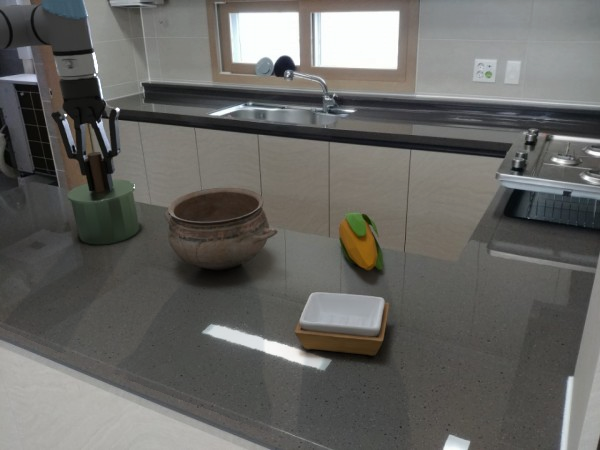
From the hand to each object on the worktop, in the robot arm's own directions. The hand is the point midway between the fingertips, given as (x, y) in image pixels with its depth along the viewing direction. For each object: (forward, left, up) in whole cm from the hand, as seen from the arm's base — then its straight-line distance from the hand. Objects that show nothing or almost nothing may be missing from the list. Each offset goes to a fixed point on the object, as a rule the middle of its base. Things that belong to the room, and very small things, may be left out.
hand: (101, 188), depth 115 cm
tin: (0, 0, -10) cm, 10 cm away
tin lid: (0, 0, -1) cm, 1 cm away
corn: (+56, +10, -11) cm, 58 cm away
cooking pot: (+32, -2, -11) cm, 34 cm away
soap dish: (+63, -15, -11) cm, 65 cm away
